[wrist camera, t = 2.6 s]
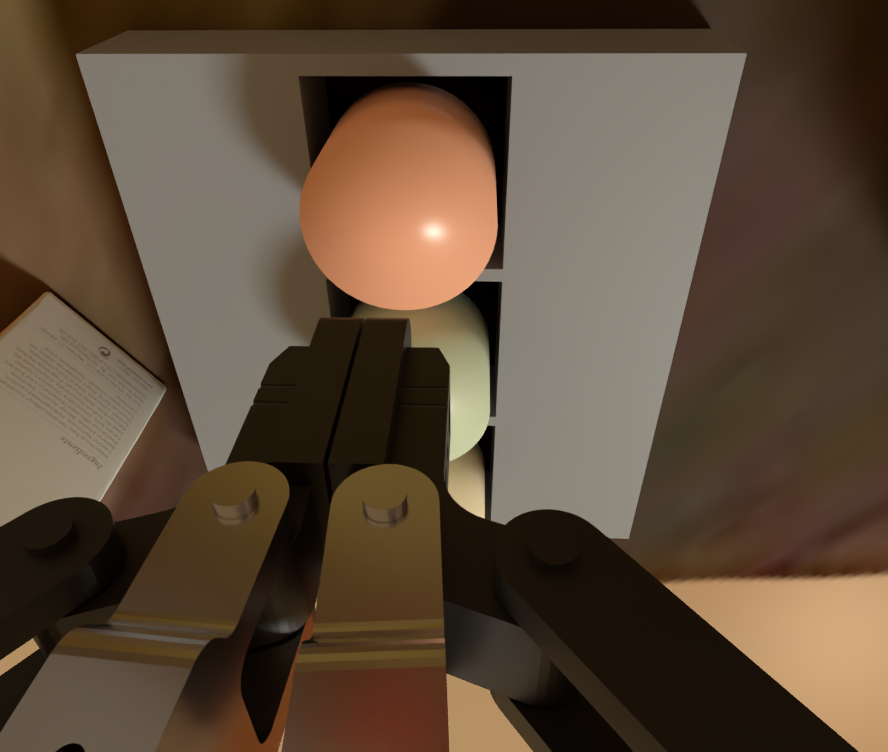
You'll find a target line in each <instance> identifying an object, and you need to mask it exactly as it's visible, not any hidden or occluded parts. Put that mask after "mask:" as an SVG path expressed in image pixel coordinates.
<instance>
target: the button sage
mask: <svg viewBox="0 0 888 752" xmlns="http://www.w3.org/2000/svg"><path fill="white" fill-rule="evenodd" d="M351 318H364V319H366V318H409V320H410V326H411V342H412V347H432V348H439V349H440V351H441V352H442V354H443V355H444V357H445V359H446V360H447V362H448V363H449V365H450V412H451V438H450V456H449V462H450V461H452V460H454V459H456V458H458V457H460V456H462V455H463V454H465V453H466V452H468V451H469V450H470V449H471V448H473V447H474V445H475V444H476V443H477V442H478V441H479V440H480V438H481V437H482V436H483V434H484V432H485V430H486V428H487V425H488V421H489V416H490V367H489V332H488V327H487V324H486V321H485V319H484V317H483V315H482V313H481V311H480V310H479V309H478V307H477V306H476V305H475V303H474V302H473V301H472V300H471V299H470V298H469V297H467V296H466V295H465V294H463V293H460V294H459V295H457V296H455V297H454V298H452V299H450V300H448V301H446V302H443V303H441V304H439V305H435V306H432V307H428V308H423V309H417V310H392V309H386V308H381V307H377V306H374V305H370V304H367V303H365V302H363V301H360V302H359V303H358V304H357V306H356V307H355V309H354V311H353V313H352V315H351Z"/></svg>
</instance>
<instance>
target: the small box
mask: <svg viewBox="0 0 888 752" xmlns="http://www.w3.org/2000/svg"><path fill="white" fill-rule="evenodd" d="M165 392H166V386H165V385H164V384H163V383H161V382H160V381H159V380H158V379H156V378H155V377H154V376H153V375H152V374H150V373H149V372H148V371H147V370H145V369H144V368H143V367H142V366H141V365H139V364H138V363H137V362H136V361H134V360H133V359H132V358H131V357H129V356H128V355H127V354H126V353H125V352H123V351H122V350H121V349H120V348H118V347H117V346H116V345H115V344H113V343H112V342H111V341H110V340H109V339H107V338H106V337H105V336H104V335H102V334H101V333H100V332H99V331H98V330H96V329H95V328H94V327H93V326H92V325H90V324H89V323H88V322H87V321H85V320H84V319H83V318H82V317H80V316H79V315H78V314H77V313H76V312H74V311H73V310H72V309H71V308H69V307H68V306H67V305H66V304H64V303H63V302H62V301H61V300H60V299H58V298H57V297H56V296H55V295H53V294H52V293H51V292H49V291H48V292H45V293H43V294H42V295H41V296H40V297H39V298H38V299H37V300H36V301H35V302H34V303H33V304H32V305H31V306H29V307H28V308H27V309H26V310H25V311H24V312H23V313H22V314H21V315H20V316H19V317H18V318H17V319H15V320H14V321H13V322H12V323H11V324H10V325H9V326H8V327H6V328H5V329H4V330H3V331H2V332H1V333H0V527H1V526H3V525H4V524H6V523H8V522H10V521H11V520H13V519H15V518H17V517H18V516H20V515H22V514H24V513H25V512H27V511H29V510H31V509H33V508H35V507H37V506H40V505H42V504H45V503H47V502H51V501H54V500H58V499H63V498H69V497H86V498H91V499H95V500H97V501H99V502H100V501H101V499H102V497H103V496H104V494H105V493H106V491H107V489H108V488H109V486H110V484H111V483H112V481H113V479H114V477H115V476H116V474H117V473H118V471H119V469H120V468H121V466H122V464H123V462H124V461H125V459H126V458H127V456H128V454H129V453H130V451H131V449H132V447H133V446H134V444H135V443H136V441H137V439H138V438H139V436H140V434H141V432H142V431H143V429H144V428H145V426H146V424H147V422H148V420H149V419H150V417H151V415H152V414H153V412H154V411H155V409H156V407H157V406H158V404H159V402H160V400H161V399H162V397H163V395H164V393H165Z"/></svg>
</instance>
